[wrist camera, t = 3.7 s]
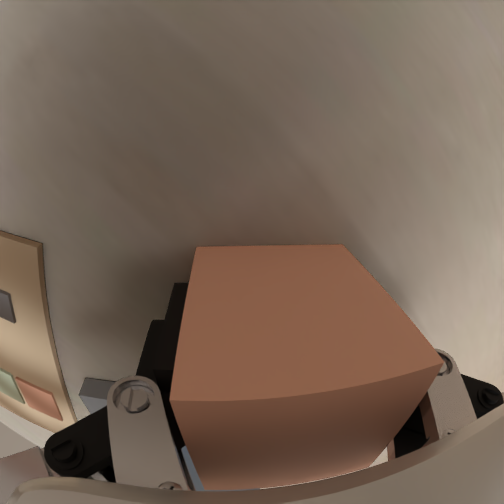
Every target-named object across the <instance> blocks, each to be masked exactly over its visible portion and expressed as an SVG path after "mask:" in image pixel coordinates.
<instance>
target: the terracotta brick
mask: <svg viewBox="0 0 504 504" xmlns="http://www.w3.org/2000/svg"><path fill="white" fill-rule="evenodd" d="M443 364H444V361H443V359H442V358H441V357H440V356H439V354H438V353H437V352H436V350H435V349H434V348H433V347H432V345H431V344H430V343H429V342H428V340H427V339H426V338H425V337H424V335H423V334H422V333H421V332H420V330H419V329H418V328H417V327H416V326H415V324H414V323H413V322H412V321H411V320H410V318H409V317H408V316H407V315H406V314H405V313H404V311H403V310H402V309H401V308H400V307H399V306H398V304H397V303H396V302H395V301H394V300H393V299H392V298H391V296H390V295H389V294H388V293H387V292H386V291H385V290H384V288H383V287H382V286H381V285H380V284H379V283H378V282H377V281H376V280H375V279H374V277H373V276H372V275H371V274H370V273H369V272H368V271H367V270H366V269H365V268H364V267H363V265H362V264H361V263H360V262H359V261H358V260H357V259H356V258H355V257H354V256H353V255H352V254H351V253H350V252H349V251H348V250H347V249H346V248H345V247H344V245H343V244H332V245H266V246H212V247H196V251H195V256H194V261H193V265H192V270H191V275H190V280H189V285H188V290H187V295H186V301H185V306H184V311H183V317H182V322H181V328H180V334H179V340H178V346H177V352H176V358H175V365H174V371H173V378H172V385H171V392H170V403H171V406H172V409H173V412H174V415H175V418H176V421H177V424H178V426H179V429H180V432H181V434H182V437H183V440H184V442H185V445H186V447H187V450H188V452H189V455H190V457H191V460H192V462H193V464H194V467H195V469H196V471H197V474H198V476H199V478H200V480H201V483H202V485H203V487H204V489H205V490H241V489H257V488H268V487H277V486H285V485H292V484H298V483H304V482H310V481H315V480H320V479H325V478H329V477H334V476H338V475H342V474H346V473H350V472H353V471H357V470H360V469H364V468H367V467H369V466H370V465H371V464H372V463H373V462H374V460H375V459H376V458H377V457H378V456H379V455H380V454H381V452H382V451H383V450H384V449H385V448H386V447H387V445H388V444H389V443H390V442H391V441H392V439H393V438H394V437H395V436H396V434H397V433H398V432H399V430H400V429H401V428H402V427H403V425H404V424H405V423H406V421H407V420H408V418H409V417H410V416H411V414H412V413H413V412H414V410H415V409H416V407H417V406H418V404H419V403H420V401H421V400H422V398H423V397H424V395H425V394H426V392H427V391H428V389H429V387H430V386H431V384H432V383H433V381H434V379H435V378H436V376H437V374H438V373H439V371H440V369H441V367H442V366H443Z"/></svg>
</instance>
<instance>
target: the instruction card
mask: <svg viewBox="0 0 504 504" xmlns="http://www.w3.org/2000/svg"><path fill="white" fill-rule="evenodd" d="M0 405H1V406H2V407H4V408H6V409H7V410H9V411H11V412H13V413H15V414H16V415H18V416H20V417H22V418H24V419H26V420H28V421H30V422H32V423H34V424H36V425H38V426H41V427H43V428H45V429H47V430H49V431H52V432H54V433H56V432H58V431H60V430H62V429H64V428H66V427H68V426H70V425H72V424H74V423H76V422H78V421H77V419H76V416H75V413H74V411H73V408H72V405H71V402H70V399H69V396H68V393H67V389H66V386H65V383H64V379H63V376H62V372H61V368H60V365H59V361H58V357H57V352H56V348H55V343H54V339H53V334H52V328H51V323H50V317H49V311H48V304H47V296H46V288H45V278H44V266H43V248H42V243H39V242H35V241H32V240H29V239H25V238H22V237H19V236H16V235H12V234H9V233H6V232H3V231H0Z"/></svg>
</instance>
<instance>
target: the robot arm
mask: <svg viewBox="0 0 504 504" xmlns="http://www.w3.org/2000/svg"><path fill="white" fill-rule="evenodd" d="M188 285H189V283H175V284H174V287H173V291H172V294H171V298H170V302H169V305H168V309H167V313H166V317H165V320H153V321H152V322H151V325H150V328H149V331H148V334H147V338H146V341H145V344H144V348H143V351H142V355H141V358H140V362H139V366H138V369H137V373H136V376H128V377H125V378H122V379H120V380H118V381H116V382H115V383H114V384H113V385H112V386H111V388H110V389H109V391H108V395H107V406H105V407H103V408H101V409H100V410H98V411H96V412H94V413H92V414H91V415H89V416H87V417H85V418H83V419H81V420H79V421H78V422H76V423H74V424H72V425H70V426H68V427H66V428H64V429H62V430H60V431H58V432H56V433H55V434H53V435H52V436H51V437H50V438H49V439H48V440H47V442H46V444H45V447H44V448H41V449H40V448H39V447H38V446H36V447H33V448H30V449H28V450H25V451H22V452H19V453H16V454H13V455H10V456H7V457H3V458H0V504H504V392H502V393H501V392H500V391H499V389H498V388H497V387H495V386H494V385H491V384H489V383H486V382H483V381H480V380H477V379H474V378H471V377H468V376H466V375H463V374H460V372H459V369H458V367H457V365H456V362H455V361H454V359H453V358H452V357H451V356H450V355H449V354H448V353H446V352H445V351H442V350H440V349H435V350H436V352H437V353H438V354H439V356H440V357H441V358H442V359H443V361H444V364H443V366H442V367H441V369H440V371H439V373H438V374H437V376H436V378H435V379H434V381H433V383H432V384H431V386H430V387H429V389H428V391H427V392H426V394H425V395H424V397H423V398H422V400H421V401H420V403H419V404H418V406H417V407H416V409H415V410H414V412H413V413H412V414H411V416H410V417H409V418H408V420H407V421H406V423H405V424H404V425H403V427H402V428H401V429H400V430H399V432H398V433H397V434H396V436H395V437H394V438H393V439H392V441H391V442H390V443H389V444H388V445H387V452H388V462H385V463H382V464H379V465H376V466H373V467H370V468H366V469H363V470H360V471H356V472H353V473H349V474H345V475H341V476H337V477H333V478H329V479H324V480H320V481H315V482H309V483H304V484H298V485H292V486H285V487H277V488H268V489H258V490H244V491H196V489H195V486H194V483H193V480H192V478H191V475H190V472H189V469H188V466H187V463H186V460H185V457H184V454H183V451H182V448H183V447H184V446H186V445H185V442H184V440H183V437H182V434H181V432H180V429H179V426H178V424H177V421H176V418H175V415H174V412H173V409H172V406H171V403H170V392H171V385H172V378H173V371H174V365H175V358H176V352H177V346H178V340H179V334H180V328H181V322H182V317H183V311H184V306H185V301H186V295H187V290H188Z"/></svg>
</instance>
